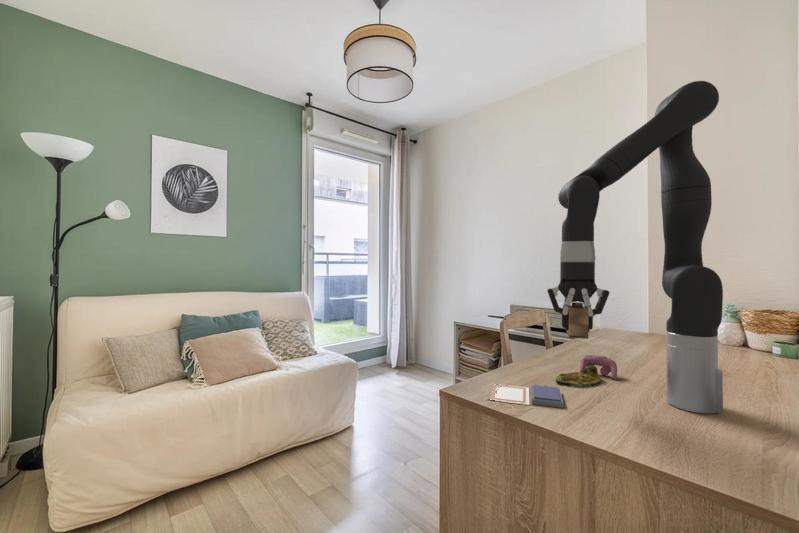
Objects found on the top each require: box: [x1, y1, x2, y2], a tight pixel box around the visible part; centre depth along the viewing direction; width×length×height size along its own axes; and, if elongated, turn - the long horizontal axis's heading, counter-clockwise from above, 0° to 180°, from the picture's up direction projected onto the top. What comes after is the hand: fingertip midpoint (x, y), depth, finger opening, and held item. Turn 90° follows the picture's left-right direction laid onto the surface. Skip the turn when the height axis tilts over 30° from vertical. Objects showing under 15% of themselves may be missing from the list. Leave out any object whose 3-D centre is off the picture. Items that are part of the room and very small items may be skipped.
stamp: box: [566, 302, 589, 340], centre depth 84 cm, size 4×6×8 cm, turn 160°
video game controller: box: [579, 354, 618, 381], centre depth 104 cm, size 10×5×7 cm, turn 57°
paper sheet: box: [489, 383, 530, 406], centre depth 89 cm, size 10×12×1 cm
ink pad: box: [530, 384, 565, 409], centre depth 86 cm, size 7×10×2 cm
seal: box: [555, 365, 602, 388], centre depth 99 cm, size 9×5×15 cm
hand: (576, 330), depth 84 cm, fingers closed on stamp, 4 cm apart
